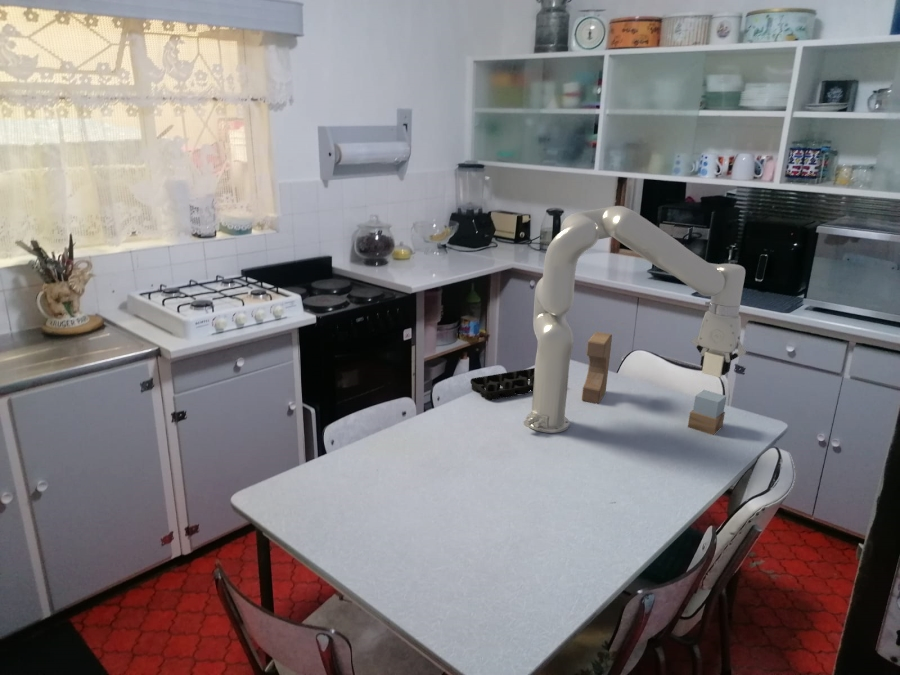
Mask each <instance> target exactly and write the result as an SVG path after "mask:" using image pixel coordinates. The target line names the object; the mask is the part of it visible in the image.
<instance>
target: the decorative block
mask: <svg viewBox="0 0 900 675" xmlns="http://www.w3.org/2000/svg"><path fill="white" fill-rule="evenodd" d="M612 339H613V335H612V334H611V333H605V332H599V331H595V332H594V333H593V335H592V336H591V337H590V338H589V339H588V341H587V344H586V345H587V346H586V357H588V366H587V367H588V368H587V369H588V370H587V374H586V379H585V381H584V384H583V386H582V391H581V392H582V394H581V401H582V402H586V401H587V403H591V402H592V403H591V404H596V403H597V404H600V403H601V400H602V399H603V398H604V395H605V394H606V392H607V383H608V374H609V367H610V357H611V350H612ZM597 404H596V405H597Z"/></svg>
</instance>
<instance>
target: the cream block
mask: <svg viewBox="0 0 900 675" xmlns="http://www.w3.org/2000/svg"><path fill="white" fill-rule="evenodd" d="M724 361H725V352H721V351H717V350H712V349H710V350H709V351H707V352H706V353H705V356H704V362H703V369H702V370H701V373H702V374H704V375H708V376H712V377H716V378H721V377H722V376H723V375H722V368H723V362H724Z"/></svg>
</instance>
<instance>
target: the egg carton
mask: <svg viewBox="0 0 900 675" xmlns="http://www.w3.org/2000/svg"><path fill="white" fill-rule="evenodd" d="M534 375H535V367H533V368H526V369H521V370H514V371H509V372H503V373H496V374H492V375H491V374H490V375H486V376H485V375H484V376H483V375H482V376H478V377H472V378H471V379H470V384H471V390H472V391H473V392H475V393H477V394H480V396H481V398H483V399H484V400H485V401H496V400H498V399H500V398H503V397H504V398H503V399H506V397H507V398H512V397H514V396H515V395H517V394H524V395H526V394H525V393H528V394H529V393H530V392H531V391H533V387H534ZM528 379H530V381H529V380H528ZM530 390H531V391H530ZM515 393H516V394H515ZM511 396H512V397H511Z"/></svg>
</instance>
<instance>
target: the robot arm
mask: <svg viewBox="0 0 900 675" xmlns="http://www.w3.org/2000/svg"><path fill="white" fill-rule="evenodd" d="M560 228H561V229H560V232H559V233H557V234H556V235H555V237H554V238H553V239H552V240H551V242H550V243H549V245H548V246H547V249H546V252H545V257H544V263H543V272H542V273H543V274H542V277H541V278H540V279H539V280H538V281H537V283H536V286H535V290H534V298H533V299H534V301H533V302H534V304H533V317H532V322H533V324H532V325H533V331H534V335H535V336H536V340H537V349H536V354H535V361H534V368H535V375H534V387H533V392H532V402H531V411H530V413H529V414H527V415H526V416H525V419H524V420H523V425H524V426H525V427H529V428H530V429H532V430H534V431H537V432H541V433H547V434H549V433H550V434H557V433H561V432H564V431H566V430H568V428H569V427H570V420H569V418H568V417H566V415H565V414H566V404H567V395H568V384H569V372H570V365H571V364H570V363H571V357H572V352H573V348H574V333H573V330H572V328H571V327H570V325H569V323H568V321H567V313H568V312H569V311H570V310H571V308H572V307H573V304H574V299H575V284H576V283H575V281H576V270H577V265H578V261H579V258H580V257H581V256H582V255H583V253H585V252H586V251H588V250H590V249H591V248H593V247H594V246H595V245H596V244H597V242H598V241H599V240H603V239H608V238H614V239H615V240H617V242H620V244H622V245H624V246H625V247H626V248H629V249H630V250H631V251H633V252H635V254H637V255H638V256H640V257H641V258H643V259H644V260H646V261H647V262H649V263H650V264H652V265H653V266H656V268H658V269H661V270H663V271H664V272H667V274H670V275H672V276H674V277H675V278H676V279H677V280H680V282H682V283H684V284H685V285H686V286H688V287H689V288H691V290H694V291H695V292H697V293H698V294H699V295H701V296H703V297H710V301H705V303H704V307H706V308H708V310H707V311H705V313H704V315H703V319H702V321H701V326H700V329H699V333H698V334H697V335H696V336H695V337H694V338H693V339H692V340H691V343H692V345H693V346H695V348H696V350H697V351H698V352H699V353H700V354H699V355H700V356H701V358H700V363H699V364H700V366H701V367H700V370H701V371H702V369H703V362H704V356H705V353H706V352H707V351H709V350H710V349H712V350H717V351H721V352H725V361H724V362H723V368H722V376H725V375H726V374H727V373H729V372H730V371H731V365H732V361H733V360H735V359H737V358H738V357H741V356H744V355H745V354H747V351H746V349H745V347H744V345H743V343H742V341H741V333H742V330H741V329H742V323H741V322H742V319H741V318H742V317H741V315H739V313H740V307H741V302H742V296H743V289H744V283H745V277H746V269H745V267H744V266H742V265H740V264H734V263H719V264H718V263H711V262H708V261H706V260H705V259H703V258H702V257H700V256H699V255H697V254H696V253H694V252H693V251H691V250H690V249H688V248H687V247H686V246H684V245H683V244H682V243H681V242H680V241H679V240H677V239H675V238H674V237H673V236H671V235H670V234H669V233H667V232H665V231H664V230H662V229H661V228H659V227H658V226H657V225H655V224H654V223H652V222H651V221H649V220H648V219H647V218H645V217H643V216H642V215H640V214H639V213H637V212H636V211H635V210H632V209H631V208H627V207H625V206H623V205H614V206H607V207H602V208H596V209H592V210H584V211H579V212H574V213H572V214H569V215H568V216H567V217H565V219H564V220H563V221H562V223H561V227H560ZM736 350H737V351H736ZM735 351H736V352H735ZM734 352H735V353H734Z"/></svg>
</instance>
